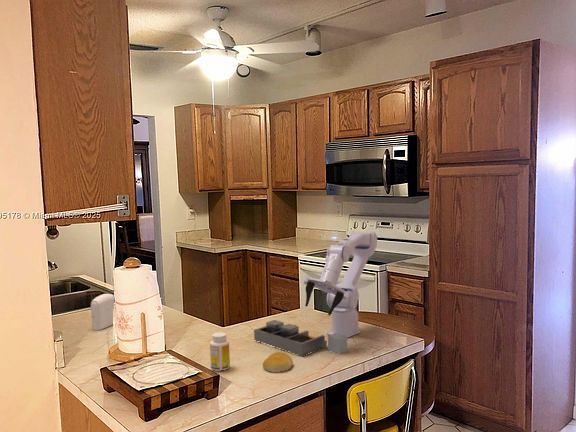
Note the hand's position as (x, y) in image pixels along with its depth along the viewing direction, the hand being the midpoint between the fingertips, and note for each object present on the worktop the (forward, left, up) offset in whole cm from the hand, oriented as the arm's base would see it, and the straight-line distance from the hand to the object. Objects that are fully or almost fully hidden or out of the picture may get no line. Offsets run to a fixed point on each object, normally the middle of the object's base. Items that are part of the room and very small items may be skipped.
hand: (318, 309), depth 157 cm
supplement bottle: (+29, -14, -14) cm, 35 cm away
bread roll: (+17, -2, -14) cm, 22 cm away
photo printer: (+33, -80, -14) cm, 87 cm away
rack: (0, -13, -14) cm, 19 cm away
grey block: (-5, +3, -14) cm, 15 cm away
